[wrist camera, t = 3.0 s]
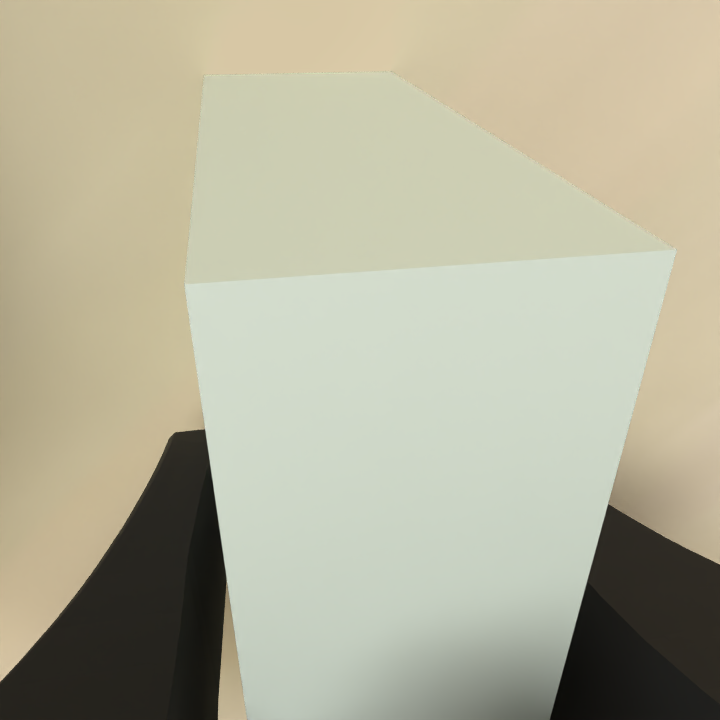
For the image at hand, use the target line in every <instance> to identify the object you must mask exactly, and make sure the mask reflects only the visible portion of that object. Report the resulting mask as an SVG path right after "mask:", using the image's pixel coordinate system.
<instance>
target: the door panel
mask: <svg viewBox="0 0 720 720" xmlns="http://www.w3.org/2000/svg"><path fill="white" fill-rule="evenodd" d="M676 251H677V249H675V248H674V247H672V246H670V245H669V244H667V243H666V242H664V241H662V240H661V239H659V238H658V237H656V236H654V235H653V234H651V233H650V232H648V231H646V230H645V229H643V228H642V227H640V226H638V225H637V224H635V223H634V222H632V221H630V220H629V219H627V218H626V217H624V216H622V215H621V214H619V213H618V212H616V211H614V210H613V209H611V208H610V207H608V206H606V205H605V204H603V203H601V202H600V201H598V200H597V199H595V198H593V197H592V196H590V195H589V194H587V193H585V192H584V191H582V190H581V189H579V188H577V187H576V186H574V185H573V184H571V183H569V182H568V181H566V180H565V179H563V178H561V177H560V176H558V175H557V174H555V173H553V172H552V171H550V170H549V169H547V168H545V167H544V166H542V165H541V164H539V163H537V162H536V161H534V160H533V159H531V158H529V157H528V156H526V155H525V154H523V153H521V152H520V151H518V150H517V149H515V148H513V147H512V146H510V145H509V144H507V143H505V142H504V141H502V140H501V139H499V138H497V137H496V136H494V135H493V134H491V133H489V132H488V131H486V130H484V129H483V128H481V127H480V126H478V125H476V124H475V123H473V122H472V121H470V120H468V119H467V118H465V117H464V116H462V115H460V114H459V113H457V112H456V111H454V110H452V109H451V108H449V107H448V106H446V105H444V104H443V103H441V102H440V101H438V100H436V99H435V98H433V97H432V96H430V95H428V94H427V93H425V92H424V91H422V90H420V89H419V88H417V87H416V86H414V85H412V84H411V83H409V82H408V81H406V80H404V79H403V78H401V77H400V76H398V75H396V74H395V73H393V72H392V71H377V72H328V73H278V74H229V75H204V80H203V90H202V101H201V111H200V122H199V133H198V143H197V154H196V165H195V175H194V186H193V197H192V207H191V218H190V229H189V239H188V250H187V261H186V271H185V282H184V286H185V293H186V300H187V307H188V314H189V321H190V328H191V334H192V341H193V348H194V355H195V362H196V369H197V376H198V383H199V390H200V397H201V404H202V411H203V417H204V424H205V431H206V438H207V445H208V452H209V459H210V466H211V473H212V480H213V487H214V494H215V500H216V507H217V514H218V521H219V528H220V535H221V542H222V549H223V556H224V563H225V570H226V577H227V583H228V590H229V597H230V604H231V611H232V618H233V625H234V632H235V639H236V646H237V653H238V660H239V666H240V673H241V680H242V687H243V694H244V701H245V708H246V715H247V720H550V716H551V713H552V709H553V705H554V701H555V698H556V694H557V690H558V687H559V683H560V679H561V676H562V672H563V668H564V665H565V661H566V657H567V653H568V650H569V646H570V642H571V639H572V635H573V631H574V628H575V624H576V620H577V617H578V613H579V609H580V606H581V602H582V598H583V594H584V591H585V587H586V583H587V580H588V576H589V572H590V569H591V565H592V561H593V558H594V554H595V550H596V546H597V543H598V539H599V535H600V532H601V528H602V524H603V521H604V517H605V513H606V510H607V506H608V502H609V499H610V495H611V491H612V487H613V484H614V480H615V476H616V473H617V469H618V465H619V462H620V458H621V454H622V451H623V447H624V443H625V439H626V436H627V432H628V428H629V425H630V421H631V417H632V414H633V410H634V406H635V403H636V399H637V395H638V392H639V388H640V384H641V380H642V377H643V373H644V369H645V366H646V362H647V358H648V355H649V351H650V347H651V344H652V340H653V336H654V332H655V329H656V325H657V321H658V318H659V314H660V310H661V307H662V303H663V299H664V296H665V292H666V288H667V285H668V281H669V277H670V273H671V270H672V266H673V262H674V259H675V255H676Z"/></svg>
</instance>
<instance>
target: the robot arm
mask: <svg viewBox="0 0 720 720" xmlns="http://www.w3.org/2000/svg"><path fill="white" fill-rule="evenodd" d="M226 578H227V577H226V570H225V563H224V556H223V549H222V542H221V535H220V528H219V521H218V514H217V507H216V500H215V494H214V487H213V480H212V473H211V466H210V459H209V452H208V445H207V438H206V431H205V429H204V430H194V431H185V432H175V433H174V434H173V435H172V436H171V437H170V438H169V440H168V443H167V445H166V447H165V450H164V452H163V454H162V456H161V459H160V461H159V463H158V465H157V467H156V469H155V471H154V473H153V475H152V477H151V479H150V481H149V482H148V484H147V486H146V488H145V490H144V492H143V493H142V495H141V497H140V499H139V500H138V502H137V504H136V505H135V507H134V509H133V511H132V512H131V514H130V516H129V518H128V519H127V521H126V523H125V524H124V526H123V527H122V529H121V531H120V532H119V534H118V535H117V537H116V538H115V540H114V541H113V543H112V544H111V546H110V547H109V549H108V550H107V552H106V553H105V555H104V556H103V558H102V559H101V561H100V562H99V564H98V565H97V567H96V568H95V569H94V571H93V572H92V574H91V575H90V576H89V578H88V579H87V580H86V582H85V583H84V584H83V586H82V587H81V588H80V590H79V591H78V592H77V594H76V595H75V596H74V598H73V599H72V600H71V601H70V603H69V604H68V605H67V606H66V608H65V609H64V610H63V611H62V613H61V614H60V615H59V616H58V618H57V619H56V620H55V621H54V623H53V624H52V625H51V626H50V627H49V628H48V630H47V631H46V632H45V633H44V634H43V635H42V636H41V638H40V639H39V640H38V641H37V642H36V643H35V644H34V646H33V647H32V648H31V649H30V650H29V651H28V652H27V654H26V655H25V656H24V657H23V658H22V659H21V660H20V661H19V663H18V664H17V665H16V666H15V667H14V668H13V669H12V670H11V671H10V672H9V673H8V674H7V676H6V677H5V678H4V679H3V680H2V681H1V682H0V720H218V696H219V681H220V667H221V652H222V638H223V623H224V608H225V593H226ZM550 720H720V565H719V564H717V563H715V562H713V561H711V560H709V559H707V558H705V557H703V556H701V555H699V554H697V553H694V552H692V551H690V550H688V549H686V548H684V547H682V546H681V545H679V544H677V543H675V542H673V541H671V540H669V539H667V538H665V537H663V536H662V535H660V534H658V533H656V532H655V531H653V530H651V529H649V528H648V527H646V526H644V525H642V524H641V523H639V522H637V521H635V520H634V519H632V518H630V517H628V516H627V515H625V514H623V513H622V512H620V511H618V510H617V509H615V508H614V507H612V506H610V505H609V504H608V506H607V510H606V513H605V517H604V521H603V524H602V528H601V532H600V535H599V539H598V543H597V546H596V550H595V554H594V558H593V561H592V565H591V569H590V572H589V576H588V580H587V583H586V587H585V591H584V594H583V598H582V602H581V606H580V609H579V613H578V617H577V620H576V624H575V628H574V631H573V635H572V639H571V642H570V646H569V650H568V653H567V657H566V661H565V665H564V668H563V672H562V676H561V679H560V683H559V687H558V690H557V694H556V698H555V701H554V705H553V709H552V713H551V716H550Z"/></svg>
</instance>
